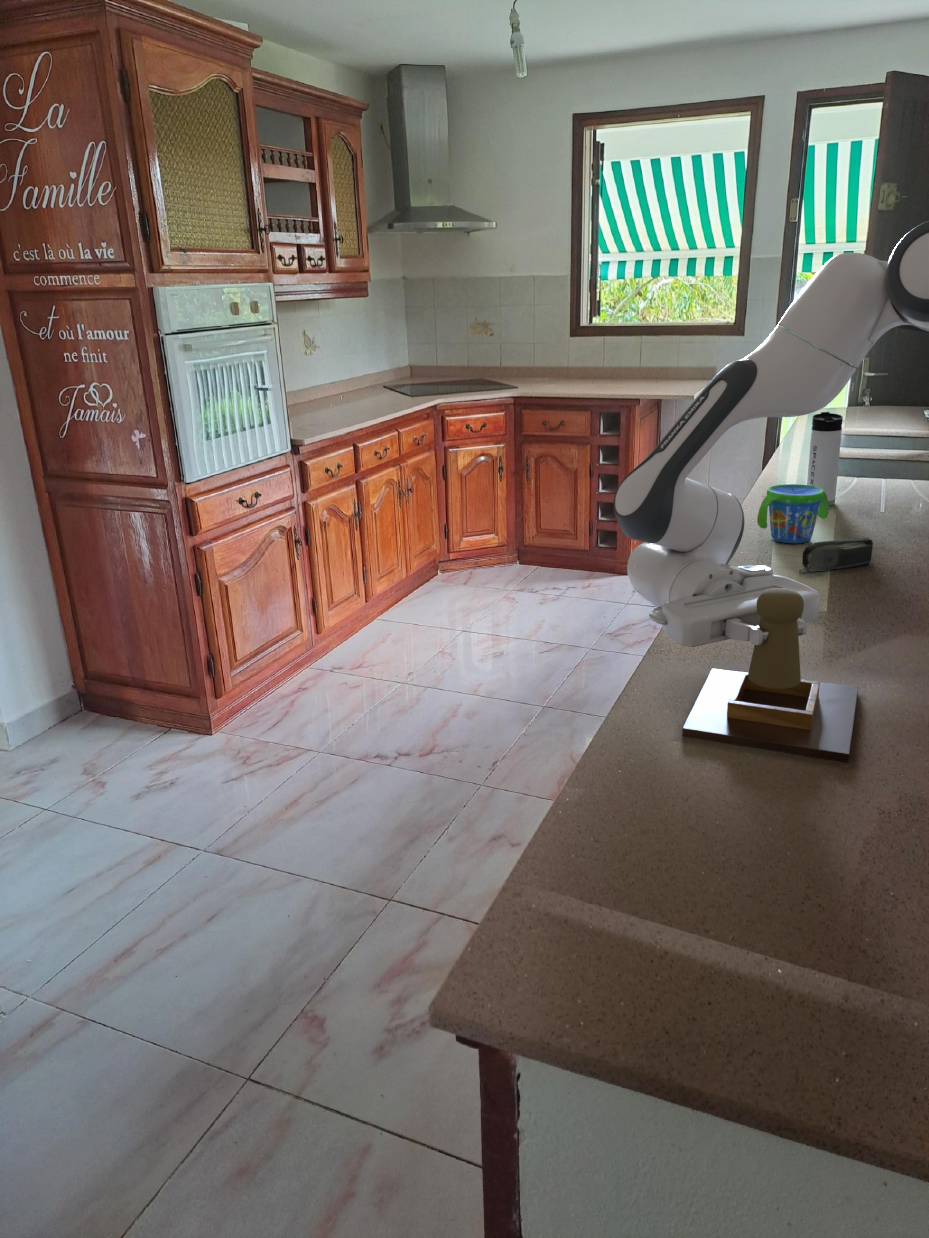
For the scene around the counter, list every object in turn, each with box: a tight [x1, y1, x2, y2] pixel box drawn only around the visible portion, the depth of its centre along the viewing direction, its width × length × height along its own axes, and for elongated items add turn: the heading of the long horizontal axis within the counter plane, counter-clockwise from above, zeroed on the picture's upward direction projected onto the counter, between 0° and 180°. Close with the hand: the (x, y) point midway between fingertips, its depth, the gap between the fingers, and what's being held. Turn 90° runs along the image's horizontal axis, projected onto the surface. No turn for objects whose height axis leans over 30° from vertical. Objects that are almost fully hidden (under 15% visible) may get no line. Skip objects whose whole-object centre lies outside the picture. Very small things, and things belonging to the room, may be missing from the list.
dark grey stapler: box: [798, 537, 874, 575], centre depth 156 cm, size 5×3×15 cm
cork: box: [748, 588, 804, 689], centre depth 103 cm, size 6×6×11 cm
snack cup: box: [756, 483, 830, 545], centre depth 173 cm, size 16×10×10 cm
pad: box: [681, 668, 859, 763], centre depth 106 cm, size 18×18×3 cm
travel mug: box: [806, 411, 844, 507], centre depth 197 cm, size 6×7×20 cm
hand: (783, 633), depth 102 cm, fingers closed on cork, 4 cm apart
